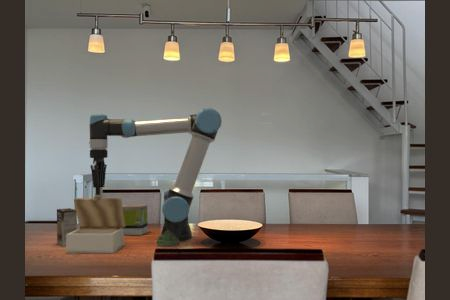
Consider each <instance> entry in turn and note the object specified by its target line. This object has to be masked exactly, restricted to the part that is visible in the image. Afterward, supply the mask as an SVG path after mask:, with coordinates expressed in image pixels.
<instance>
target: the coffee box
mask: <svg viewBox="0 0 450 300" xmlns="http://www.w3.org/2000/svg"><path fill="white" fill-rule="evenodd" d="M77 222H78V217H77V213H76V209H74V208H57V209H56V233H57V234H56V241H57V244H58V245H59V246H61V247H63V248H64V247H65V248H66V234H68V233H70V232H73V231H75V230H77Z"/></svg>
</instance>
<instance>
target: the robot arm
mask: <svg viewBox="0 0 450 300" xmlns="http://www.w3.org/2000/svg"><path fill="white" fill-rule="evenodd" d="M221 127H222V117H221V115H220V112H219V111H218V110H216V109H214V108H213V107H204V108H202V109H200V110H199V111H198V112H197V113H196V114H189V115H188V116H187V117H186V116H184V117H173V118H161V119H160V118H159V119H145V120H144V119H143V120H134V119H131V118H119V119H118V118H115V119H114V118H113V119H111V118H108V115H106V114H99V113H98V114H97V113H94V114H91V115H90V116H89V142H88V144H89V149H90V150H89V158H90V159H93V161H92V164H90V170H91V179H92V187H93V188H95V189H94V190H95V193H94V194H95V196H94V197H101V198H103V195H104V194H103V193H104V191H103V188H105V184H106V174H107V173H106V171H107V164H105V158H108V149H109V148H108V145H109V144H108V143H109V142H108V137H113V136H114V137H117V136H118V137H122V138H125V139H128V138H134V137H143V136H144V137H146V136H158V135H171V134H172V135H173V134H186V133H189V135H190V136H191V139H190V142H189V145H188V148H187V150H186V153H185V155H184V159H183V161H182V163H181V167H180V169H179V171H178V175H177V177H176V179H175V182H174V185H173V186H171V187H169V189H168V190H167V191H165V192H164V194H163V204H162V214H163V216H164V219H163V226H162V230H161V232H160V235H163V234H164V233H165V231H167V229H168V231H170V233H173V234H174V235H175V236H176V237H177V238H179V242H180V241H181V242H182V241H187V240H188V241H189V240H190V239H192V237H193V233H192V228H191V226H190V224H189V213H190V208H191V205H192V203H193V199H194V194H193V190H194V188H195V184H196V181H197V179H198V176H199V174H200V170H201V169H202V165H203V162H204V159H205V157H206V154H207V151H208V149H209V146H210V144H211V143H213V142H214V141H216V140H215V139H216V138H217V137H216V136H217V135H218V131H219V129H221Z"/></svg>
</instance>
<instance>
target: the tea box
mask: <svg viewBox="0 0 450 300" xmlns="http://www.w3.org/2000/svg"><path fill="white" fill-rule="evenodd" d="M122 207H123V213H124V219H125V227H124V236H143V235H145V234H146V233H147V232H148V226H149V225H148V205H147V204H122Z"/></svg>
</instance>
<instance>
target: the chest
mask: <svg viewBox="0 0 450 300" xmlns="http://www.w3.org/2000/svg"><path fill="white" fill-rule="evenodd" d="M124 246H125V235H124V229H123V228H120V229H80V228H78V229H77V230H75V231H73V232H70V233H68V234H66V246H65V249H66V253H65V254H67V255H68V254H70V255H71V254H76V255H77V254H84V255H86V254H87V255H88V254H95V255H96V254H100V255H101V254H103V255H104V254H105V255H106V254H115V253H116V252H118V251H119V250H120V249H122V248H123V247H124Z"/></svg>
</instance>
